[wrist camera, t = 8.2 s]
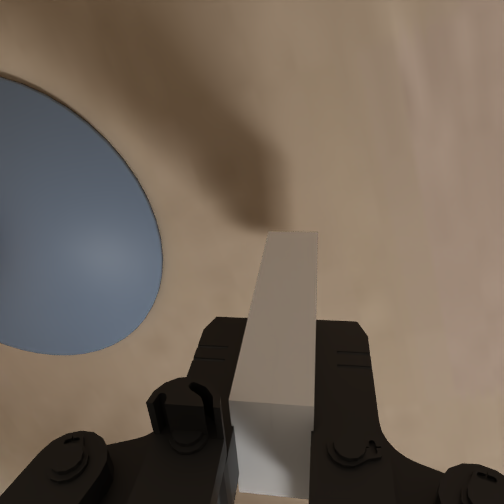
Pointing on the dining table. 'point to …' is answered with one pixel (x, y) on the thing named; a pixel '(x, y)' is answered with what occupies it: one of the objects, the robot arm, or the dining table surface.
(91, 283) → the disc
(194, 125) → the dining table surface
